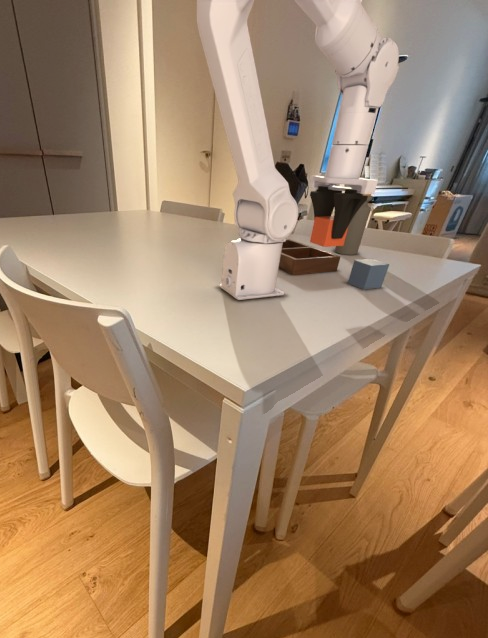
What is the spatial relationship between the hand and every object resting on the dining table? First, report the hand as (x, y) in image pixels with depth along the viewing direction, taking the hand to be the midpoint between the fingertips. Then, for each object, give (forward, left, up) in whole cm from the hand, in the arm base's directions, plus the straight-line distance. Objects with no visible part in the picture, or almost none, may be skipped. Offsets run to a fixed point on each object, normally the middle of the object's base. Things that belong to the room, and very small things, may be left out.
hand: (328, 235), depth 63 cm
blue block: (+7, -5, -8) cm, 12 cm away
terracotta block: (0, 0, -1) cm, 1 cm away
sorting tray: (+3, +15, -8) cm, 18 cm away
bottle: (+24, +20, -9) cm, 33 cm away
